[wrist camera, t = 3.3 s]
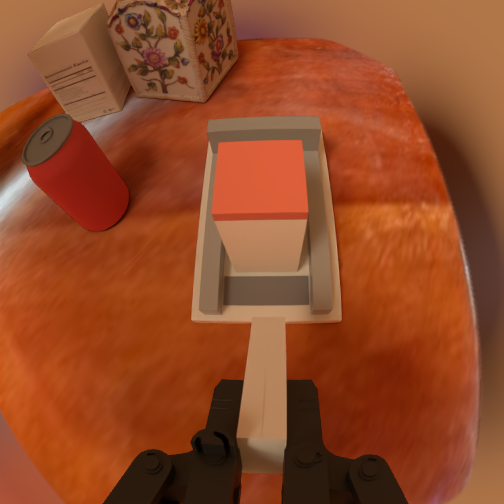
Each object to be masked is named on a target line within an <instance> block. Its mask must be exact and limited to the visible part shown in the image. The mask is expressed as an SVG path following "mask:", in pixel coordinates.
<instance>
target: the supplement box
mask: <svg viewBox="0 0 504 504" xmlns="http://www.w3.org/2000/svg"><path fill="white" fill-rule="evenodd" d="M108 19H109V15H108V13H107V10H106V8H105V6H104V4H103V3H102V4H99V5H97V6H94V7H92V8H90V9H87V10H85V11H82V12H80V13H78V14H75V15H73V16H70V17H68V18H66V19H63V20H62V21H60V22H58V23H56V24H54V25H53V26H52V28H51V29H50V30H49V31H48V32H47V33H46V34H45V35H44V36H43V37H42V38H41V40H40V41H39V42H38V43H37V44H36V45H35V46H34V48H33V49H32V50H31V51H30V52H29V53H28V56H29V58H30V60H31V61H32V63H33V64H34V66H35V67H36V69H37V71H38V72H39V74H40V75H41V77H42V78H43V80H44V81H45V83H46V85H47V86H48V88H49V89H50V91H51V92H52V94H53V95H54V97H55V98H56V100H57V101H58V103H59V104H60V106H61V107H62V108H63V110H64V111H65V113H66V114H68V115H70V116H71V117H72V119H74V120H76V121H77V122H82V121H86V120H89V119H92V118H96V117H99V116H103V115H107V114H110V113H114V112H118V111H121V110H122V108H123V105H124V102H125V99H126V97H127V94H128V91H129V89H130V86H131V83H130V81H129V79H128V77H127V74H126V72H125V70H124V68H123V66H122V63H121V61H120V58H119V56H118V54H117V51H116V49H115V46H114V44H113V41H112V39H111V37H110V34H109V32H108V29H107V26H106V24H107V21H108Z"/></svg>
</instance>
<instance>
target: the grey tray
mask: <svg viewBox="0 0 504 504" xmlns="http://www.w3.org/2000/svg"><path fill="white" fill-rule="evenodd" d="M207 135H208V139H209V145H208V152H207V160H206V167H205V175H204V184H203V192H202V201H201V210H200V219H199V229H198V239H197V250H196V261H195V273H194V286H193V300H192V315H191V321H193V322H195V323H223V324H252V317H285V324H305V323H336V322H340V321H341V320H342V311H341V293H340V278H339V265H338V253H337V242H336V232H335V222H334V213H333V205H332V197H331V189H330V181H329V174H328V167H327V161H326V154H325V148H324V142H323V136H322V130H321V125H320V119H319V117H310V116H274V117H244V118H227V119H214V120H209V121H208V127H207ZM265 140H302V146H303V155H304V165H305V176H306V187H307V199H308V218H307V224H306V229H305V234H304V240H303V245H302V250H301V255H300V261H299V266H298V271H297V272H235V271H234V268H233V266H232V263H231V261H230V259H229V256H228V254H227V251H226V249H225V246H224V244H223V241H222V239H221V236H220V234H219V231H218V229H217V226H216V224H215V221H214V219H213V216H212V204H213V193H214V183H215V173H216V163H217V154H218V145H219V143H220V142H238V141H265Z"/></svg>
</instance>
